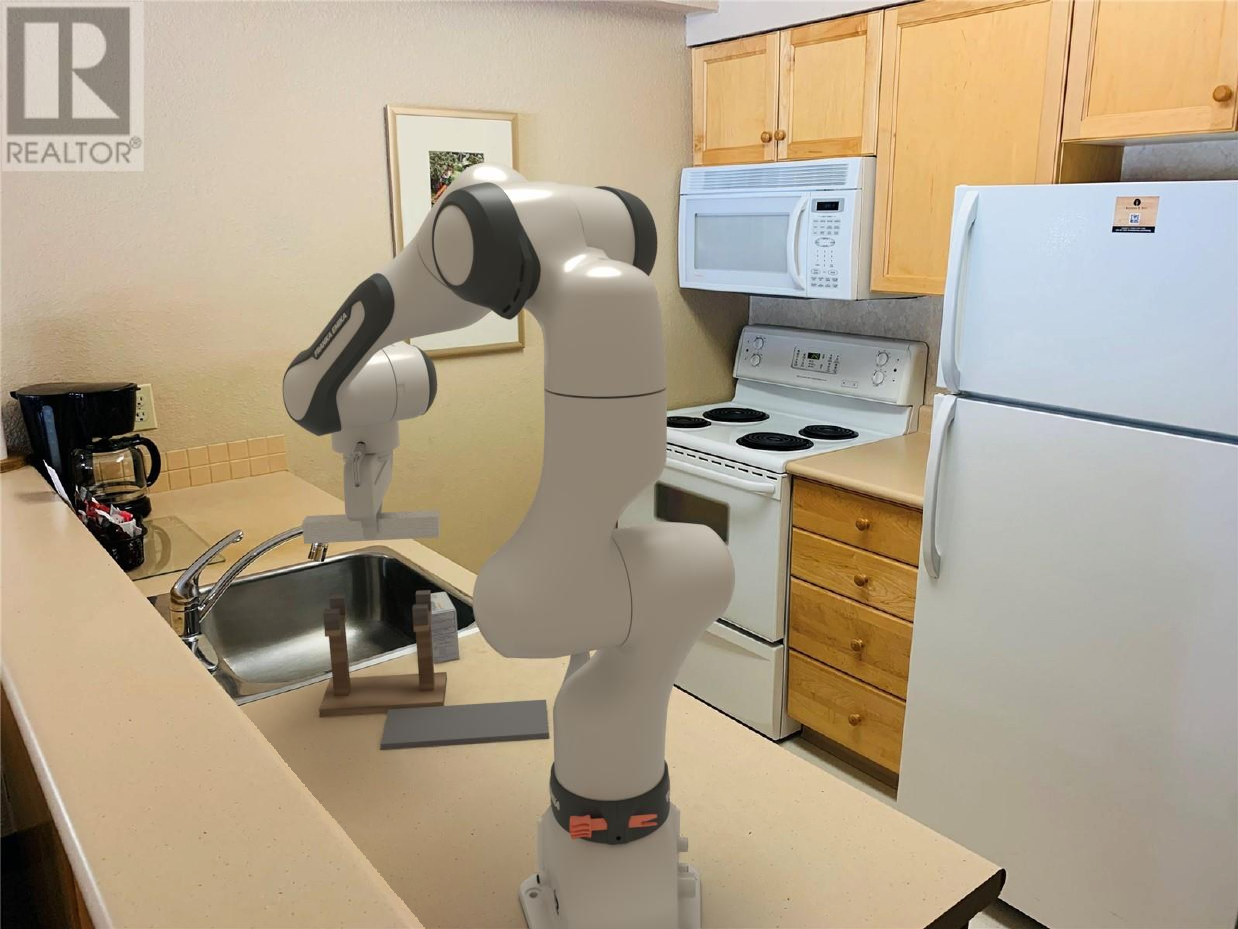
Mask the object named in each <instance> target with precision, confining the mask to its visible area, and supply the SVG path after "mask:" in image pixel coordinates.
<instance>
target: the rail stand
mask: <svg viewBox="0 0 1238 929" xmlns="http://www.w3.org/2000/svg"><path fill="white" fill-rule="evenodd" d="M415 591H416V592H415V604H413V605H412V608H411V610H412V620H413V621H412V623H413V624H412V625H413V626H412V627H413V633H415V637H416V638H415V640H416V641H415V642H416V656H417V669H418V670H417V671H418V673H408V674H407V673H406V674H405V673H404V674H388V675H373V676H358V677H357V676H356V677H354V676H353V677H350V675H351V674H350V667H349V666H350V665H349V654H348V644H347V642H348V641H347V631H346V621H347V618H348V610H347V609H348V608H347V598H346V596H347V595H346V593H345V594H331V595H330V597H329V608H324V611H323V613H322V616H323V627H324V637H326V638H328V643H329V652H330V667H331V674H332V675H331V676H332V678H329V681H328V683H327V687H326V689H325V692H324V695H323V697H322V700H321V704H319V708H318V713H319V716H318V717H319V718H328V717H343V716H345V717H346V716H359V715H374V714H375V715H376V714H377V715H378V714H387V713H388V709H403V708H419V707H435V706H445V698H446V691H447V690H446V689H447V680H448V677H447V676H448V675H447V674H448V673H447V671H441V672H440V671H438V672H435V669H434V664H435V663H433V647H432V631H431V613H432V606H431V594H432V593H431V591H432V590H431V589H430V590H429V589H427V590H415Z"/></svg>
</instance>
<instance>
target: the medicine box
mask: <svg viewBox="0 0 1238 929" xmlns="http://www.w3.org/2000/svg"><path fill="white" fill-rule="evenodd" d="M431 606H432V613H431V631H432V647H433V664H439V663H446V662H450V661H456V660H459V659H460V647H459V645H460V644H459V633H458V620H457V618H458V617H457V610H456V607H455V605H454V604H453V602H452V600H451V599H450V597H449V595H448V593H447V592H446V591H440V592H434V593H431Z"/></svg>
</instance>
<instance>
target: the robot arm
mask: <svg viewBox="0 0 1238 929" xmlns="http://www.w3.org/2000/svg"><path fill="white" fill-rule="evenodd" d="M657 231H658V230H657V226H656V223H655V220H654V217H653V215H652V213H651V211H650V209H649V207H648V206H647V205H646V203H645V202H644V201H643V200H642V199H641V198H640V197H638V196H636V195H635V194H633V193H630V192H628V191H627V190H626V191H625V190H622V189H619V188H616V187H610V186H607V185H600V186H599V185H598V186H594V187H591V186H585V185H579V184H569V183H557V182H555V181H551V180H534V181H532V180H528V179H527V178H526V177H525V176H524V175H523V174H522V173H520V172H519V171H517V170H516V169H514V168H512V167H510V166H508V165H505V164H502V163H499V162H492V161H491V162H488V161H487V162H485V161H484V162H480V163H475V164H473V165H470V166H469V167H466V168H465V169H464V170H462V171H461V172H460V173H459V174H458V175H457V177H456V178H454V180H452V182H450V184H449V185H448V186H447V188H446V189H445V190H444V191H443V192H442V193H441V195H440V196H439V197H438V198H437V200H436V201H435V203H434V204H433V205H432V207H431V209H430V210H429V212H428V213H427V215H426V217H425V218H424V220H423V222H422V224H421V225H420V227H419V229H418V231H417V233H416V234H415V236H413V238H412V239H411V240H410V241H409V243H408V244H406V245H405V247H404V248H402V250H401V251H400V252H399V253H398V254H397V255H395V256H394V258H393V259H391V260H390V261H389V262H388V263H387V264H385V265H384V266H382V268H380V269H379V270H378V271H377V272H375V273H373V274H371V275H370V276H369V277H367V278H366V279H364V280H363V281H362V282H361V283H359V284H358V285H357V286H356V287H355V288H354V289H353V290H352V291H351V293H350V294H349V295H348V297H347V298H346V299H345V300H344V302H343V303H342V305H340V307H339V308H338V309H337V311H335V314H334V315H333V316H332V318H330V320H329V321H328V323H327V324H326V326H325V327H324V328H323V329H322V331H321V332H320V333H319V335H318V336H317V337H316V339H315V340H314V342H313V343H312V344H311V345H310V346H309V347H308V348H306V349H305V350H302V351H300V352H299V353H298V354H297V355H296V356H295V358H294V359H292V361H291V362H290V364H289V366H288V367H287V368H286V371H285V373H284V376H283V379H282V398H283V404H284V407H285V411H286V412H287V414H288V416H289V418H290V419H291V420H292V421H294V422H295V424H297V425H298V426H300V427H301V428H303V429H304V430H305V431H308V432H310V433H311V434H313V435H315V436H316V437H323V436H325V435H330V437H331V448H332V451H334V452H336V453H339V454H342V461H343V462H344V465H343V496H344V497H343V500H344V512H345V513H344V514H346V517H347V519H348V521H360V522H361V525H362V527H363V537H364V539H366V540H370V539H376V538H377V535H378V525H377V521H376V514H377V513H383V512H382V511H383V500H384V498H385V495H386V493H387V490H388V488H389V486H390V483H391V481H392V478H393V463H394V462H393V461H394V460H393V459H394V458H393V456H394V450H395V449H397V448H398V447H400V444H401V443H400V440H401V439H400V427H399V421H406V420H410V419H411V420H412V419H415V418H418V417H420V416H423V415H425V414H427V412H428V411H429V410H430V409H431V406H432V405H433V403H434V401H435V400H436V396H437V391H438V378H437V370H436V367H435V363H434V361H433V360H432V359H431V357H430V356H429V355H428V354H427V353H426V352H425V351H424V350H422V349H421V348H420V347H419V346H416V345H414V344H411V345H410V344H409V343H407V342H405V341H407V340H410V339H415V338H419V337H424V336H425V337H426V336H430V335H435V334H440V333H445V332H446V333H447V332H451V331H457V330H461V329H465V328H467V327H470V326H472V325H474V324H475V323H477V322H480V320H482V319H484V317H486V316H487V315H488V314H489V313H490V314H491V312H493V313H495V314H496V315H497V316H499V317H501V318H503V319H506V320H509V321H510V320H514V318H515V317H517V316H518V315H519V313H520V312H521V311H522V309H524V310H527V311H528V313H530V314H531V315H532V316H533V317H534V318H535V320H536V321H537V323H538V325H539V326H540V328H541V332H542V337H543V352H544V353H543V355H544V356H543V394H544V396H543V397H544V400H543V401H544V428H543V429H544V433H543V435H544V437H543V439H544V440H543V459H542V467H541V474H540V477H539V481H538V485H537V489H536V491H535V494H534V497H533V499H532V501H531V504H530V506H529V508H528V510H527V512H526V513H525V515H524V517H523V519H522V520H521V522H520V524H519V525H518V526H517V528H516V529H515V531H513V533H512V534H511V535H510V536H509V538H508V539H507V540H506V541H505V542H504V543H503V544H502V545H501V546H499V548H497V550H495V551H494V552H493V553H492V554H490V556H488V557H487V559H486V560H485V561H484V563H483V564H482V565H481V568H480V569H479V571H478V573H477V576H476V579H475V582H474V586H473V590H472V591H473V592H472V610H473V611H472V613H473V618H474V620H475V624H476V625H477V628H478V630H479V632H480V634H481V636H482V637H483V639H484V640H485V642H486V643H487V644H488V646H490V647H491V648H492V649H493V650H494V651H495V652H496V653H498V655H500V656H502V657H503V658H506V659H528V660H529V659H530V660H531V659H533V660H535V659H536V660H537V659H540V660H541V659H542V660H543V659H557V658H562V657H568V656H571V655H573V654H578V653H583V652H588V651H589V652H592V651H595V652H594V653H593V654H592V656H590V660H589V661H588V662H587V663H585V664H584V665H583V666H582V667H581V668H579V669H578V670H577V671H576V672H574V673H573V674H572V675H571V676H570V677H569V678H568V679H567V680H566V681H565V682H564V684H563V685H562V684H561V686H562V687H561V686H560V688H559V691H558V692H557V695H556V697H555V700H554V703H553V708H552V720H553V721H552V724H553V726H552V727H553V758H554V759H553V760H554V761H553V762H552V764H551V766H550V773H549V774H550V776H549V781H548V783H549V784H548V788H549V796H550V805H549V807H548V808H547V809H546V811H545V812H543V814H542V815H540V817H539V818H538V819H537V820H536V873H534V874H532V875H530V876H529V877H527V878H525V879H524V880H523V881H522V882H521V883H520V885H519V893H518V894H519V896H518V897H519V900H520V903H521V907H522V909H523V912H524V916H525V919H526V922H527V924H528V928H529V929H702V906H701V905H702V902H701V901H702V900H701V899H702V895H701V894H702V893H701V892H702V891H701V887H702V886H701V885H702V884H701V883H702V882H701V875H700V871H699V869H698V868H697V867H695V866H694V865H692V864H689V863H687V862H684V861H681V860H680V853H687V852H688V851H689V840H688V837H686V836H681V809H680V808H679V807H678V806H677V805H675V804H674V803H673V802H671V799H670V798H671V779H670V778H671V777H670V775H669V773H670V772H669V765H668V763H667V761H666V760H665V759H666V758H665V755H666V732H667V720H668V719H667V718H668V707H669V702H670V697H671V694H672V690H673V688H674V684H675V682H676V680H677V677H678V676H679V675H678V674H679V673H680V670H681V668H682V666H684V665H683V664H684V662H685V661H686V659H687V658H688V655H690V652H691V651H692V649H693V647H694V646H695V645H696V643H697V641H698V640H699V639H700V638H701V636H702V635H703V634H704V633H705V632H706V631H707V630H708V629H709V627H711V626H712V625H713V624H714V623H715V622H716V621H717V620H719V618H721V617H722V616H723V615H724V614H725V612H726V611H727V609H728V608H729V606H730V604H731V601H732V598H733V595H734V591H735V585H736V571H735V564H734V561H733V557H732V554H731V552H730V550H729V548H728V546H727V545H726V543H725V542H724V541H723V539H722V538H721V536H720V535H719V534H718V533H717V532H716V531H714V529H712V528H711V527H709V526H708V525H705V524H699V523H687V522H677V521H676V522H675V521H674V522H671V521H658V522H652V523H644V524H640V525H639V524H638V525H631V526H625V527H619V528H615V526H616V524H617V522H618V520H619V519H620V517H621V516H622V514H623V513H624V511H625V510H626V509H627V508H628V507H629V506H630V505H631V504H632V503H633V502H634V501H636V500H637V499H638V498H639V497H640V496H642V495H644V494H645V493H646V492H648V491H649V490H651V488H653V486H654V485H656V484H657V482H659V481H658V480H659V479H660V478H661V477H662V474H663V471H664V469H665V467H666V463H667V451H668V450H667V449H668V448H667V445H668V443H667V442H668V440H667V436H668V435H667V433H668V431H667V429H668V425H667V424H668V422H667V421H668V411H667V410H668V387H667V386H668V381H667V380H668V376H667V371H668V370H667V368H668V367H667V354H666V342H665V335H664V334H665V333H664V325H663V320H662V319H663V318H662V313H661V307H660V302H659V301H660V300H659V297H658V292H657V289H656V285H655V283H654V281H653V280H652V279H651V277H650V275H651V273H652V271H653V269H654V266H655V263H656V260H657V255H658V232H657Z"/></svg>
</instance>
